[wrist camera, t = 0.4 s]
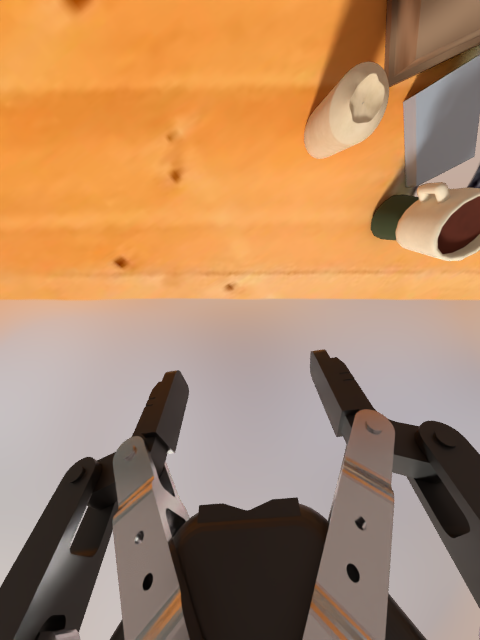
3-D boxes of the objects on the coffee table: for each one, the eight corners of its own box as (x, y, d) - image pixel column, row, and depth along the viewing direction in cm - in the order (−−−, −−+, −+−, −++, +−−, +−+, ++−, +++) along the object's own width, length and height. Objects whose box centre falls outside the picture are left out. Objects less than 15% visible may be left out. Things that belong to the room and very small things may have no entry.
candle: (299, 158, 27) (328, 140, 18) (308, 101, 24) (347, 48, 15) (337, 160, 27) (383, 142, 18) (351, 103, 24) (413, 52, 15)
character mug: (421, 227, 32) (517, 243, 21) (379, 257, 34) (445, 284, 23) (399, 167, 27) (507, 147, 16) (353, 206, 30) (420, 211, 19)
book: (403, 101, 24) (415, 94, 22) (468, 61, 22) (487, 49, 20) (405, 187, 29) (416, 186, 27) (459, 159, 27) (474, 156, 25)
